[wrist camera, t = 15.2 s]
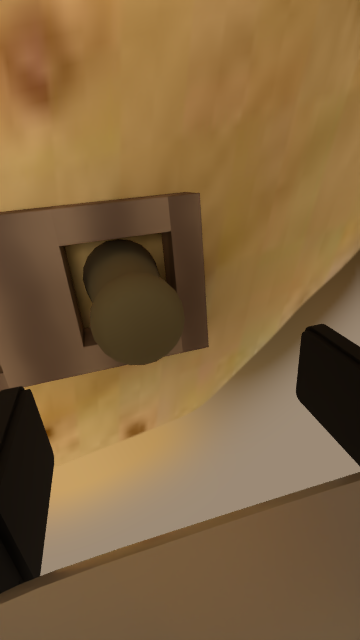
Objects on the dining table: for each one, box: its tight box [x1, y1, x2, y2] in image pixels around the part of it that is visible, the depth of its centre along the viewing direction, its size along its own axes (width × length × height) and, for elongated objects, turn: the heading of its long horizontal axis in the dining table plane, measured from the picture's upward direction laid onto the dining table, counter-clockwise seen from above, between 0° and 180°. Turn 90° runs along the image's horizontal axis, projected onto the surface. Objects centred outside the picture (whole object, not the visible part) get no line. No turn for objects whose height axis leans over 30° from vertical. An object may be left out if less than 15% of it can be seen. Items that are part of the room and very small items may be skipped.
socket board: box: [0, 192, 209, 391], centre depth 23 cm, size 22×12×4 cm, turn 96°
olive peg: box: [83, 239, 185, 365], centre depth 21 cm, size 6×6×11 cm
